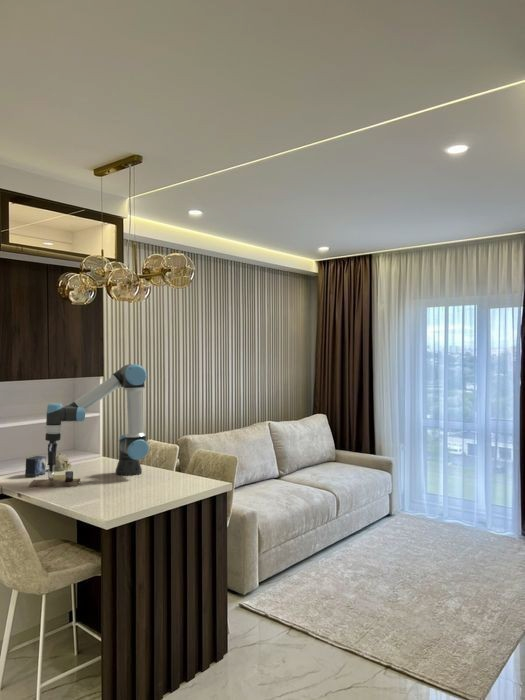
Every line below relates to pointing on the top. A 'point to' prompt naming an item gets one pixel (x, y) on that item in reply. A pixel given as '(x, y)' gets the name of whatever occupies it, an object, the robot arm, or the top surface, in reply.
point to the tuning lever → (61, 476)
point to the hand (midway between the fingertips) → (50, 477)
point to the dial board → (54, 483)
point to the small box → (35, 466)
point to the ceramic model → (61, 463)
